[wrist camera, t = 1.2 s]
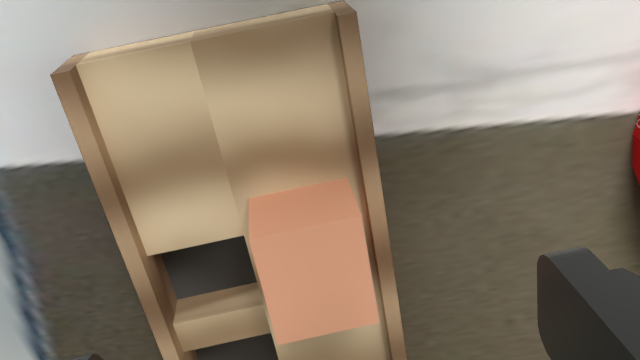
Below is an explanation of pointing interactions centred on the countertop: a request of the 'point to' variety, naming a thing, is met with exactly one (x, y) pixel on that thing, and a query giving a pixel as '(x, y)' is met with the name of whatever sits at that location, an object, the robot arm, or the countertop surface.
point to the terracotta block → (312, 260)
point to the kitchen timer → (636, 150)
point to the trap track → (230, 171)
